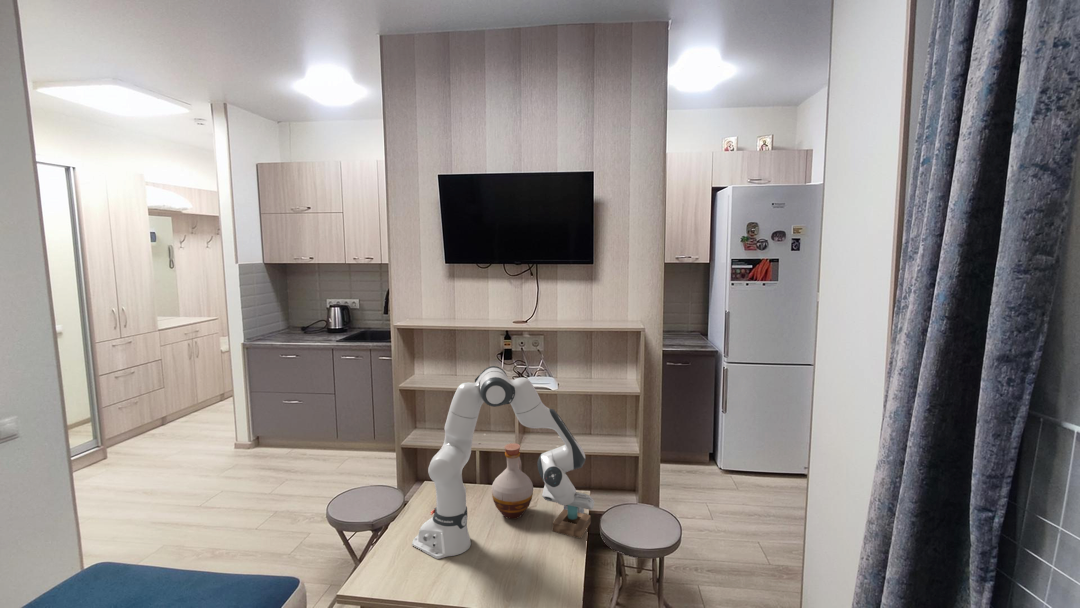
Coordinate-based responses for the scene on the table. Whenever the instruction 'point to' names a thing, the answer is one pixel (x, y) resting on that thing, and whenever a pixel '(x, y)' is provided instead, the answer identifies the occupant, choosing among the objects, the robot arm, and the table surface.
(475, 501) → the table surface
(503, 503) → the jug
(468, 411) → the robot arm
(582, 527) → the socket block
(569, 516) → the peg
